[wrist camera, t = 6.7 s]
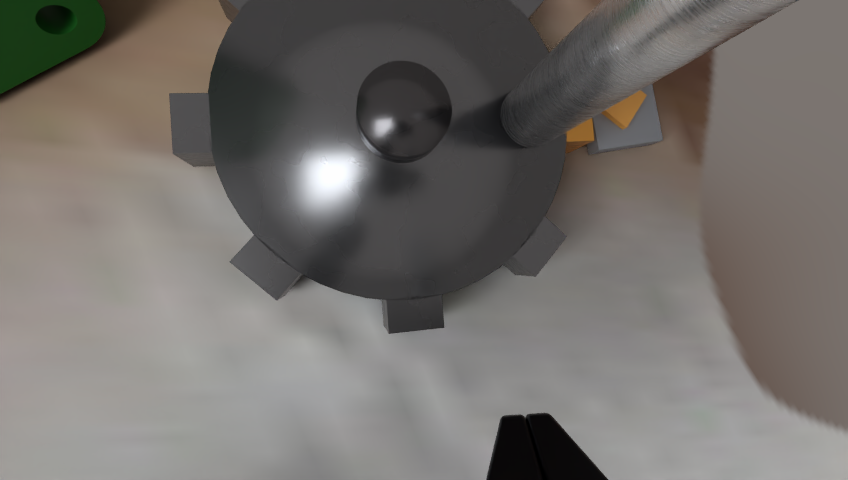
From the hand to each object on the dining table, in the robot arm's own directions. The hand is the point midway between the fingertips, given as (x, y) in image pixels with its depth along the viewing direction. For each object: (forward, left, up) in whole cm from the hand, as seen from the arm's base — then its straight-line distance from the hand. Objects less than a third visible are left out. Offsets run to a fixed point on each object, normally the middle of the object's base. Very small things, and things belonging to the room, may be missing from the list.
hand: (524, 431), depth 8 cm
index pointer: (+8, -11, -10) cm, 17 cm away
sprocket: (+8, 0, -10) cm, 13 cm away
